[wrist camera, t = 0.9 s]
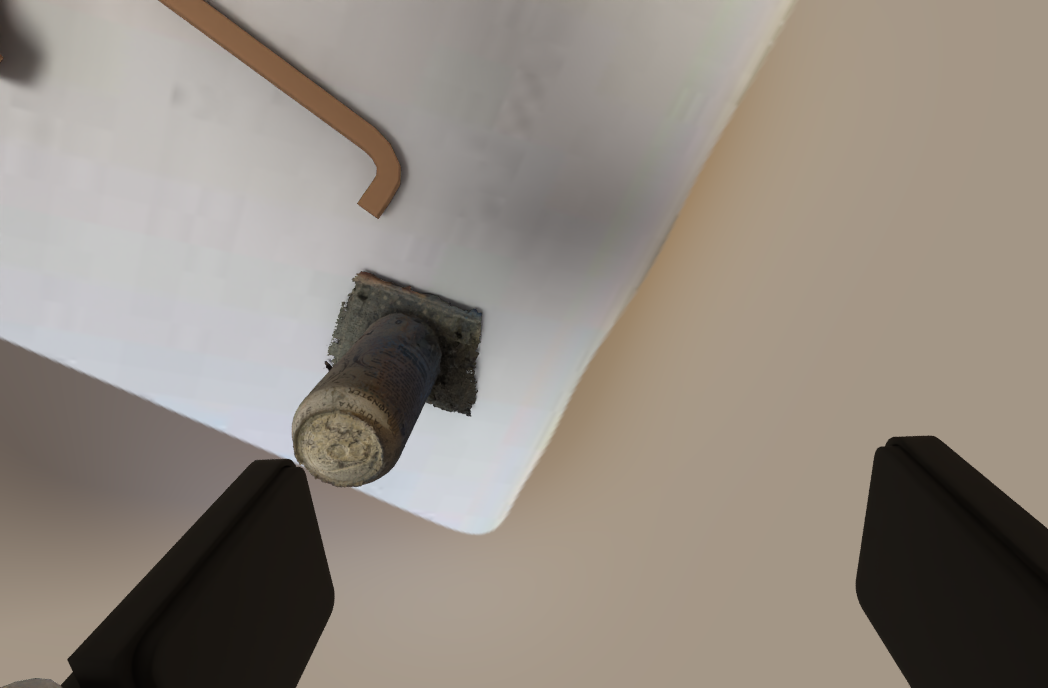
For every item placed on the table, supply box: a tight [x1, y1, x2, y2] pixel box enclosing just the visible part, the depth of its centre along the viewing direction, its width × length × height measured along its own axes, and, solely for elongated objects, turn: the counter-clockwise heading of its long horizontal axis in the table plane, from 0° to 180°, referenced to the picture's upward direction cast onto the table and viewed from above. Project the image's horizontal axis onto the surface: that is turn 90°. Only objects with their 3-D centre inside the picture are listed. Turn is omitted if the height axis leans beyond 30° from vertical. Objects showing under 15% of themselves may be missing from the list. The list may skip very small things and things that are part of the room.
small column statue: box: [292, 271, 482, 487], centre depth 28 cm, size 9×8×12 cm
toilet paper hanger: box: [0, 0, 401, 219], centre depth 27 cm, size 25×9×8 cm, turn 54°
